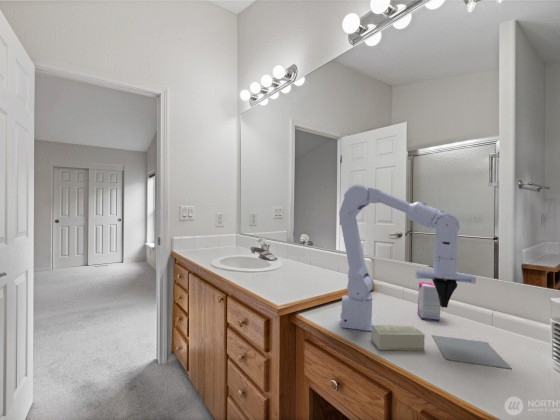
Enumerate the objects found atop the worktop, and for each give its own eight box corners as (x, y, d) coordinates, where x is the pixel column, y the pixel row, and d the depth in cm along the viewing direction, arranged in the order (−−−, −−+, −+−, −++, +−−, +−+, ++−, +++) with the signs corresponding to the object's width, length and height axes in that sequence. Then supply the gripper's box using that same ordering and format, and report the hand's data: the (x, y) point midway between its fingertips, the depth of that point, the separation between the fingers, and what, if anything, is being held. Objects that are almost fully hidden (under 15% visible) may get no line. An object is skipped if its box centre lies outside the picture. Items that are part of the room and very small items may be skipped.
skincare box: (413, 340, 82) (370, 340, 82) (413, 324, 82) (371, 324, 82) (425, 351, 76) (379, 351, 75) (425, 334, 76) (379, 334, 75)
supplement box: (440, 321, 97) (441, 287, 96) (421, 319, 98) (422, 285, 98) (435, 315, 102) (436, 282, 102) (417, 313, 103) (418, 281, 103)
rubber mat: (445, 359, 72) (445, 358, 72) (431, 335, 85) (431, 335, 85) (512, 369, 68) (512, 368, 68) (486, 342, 82) (486, 342, 82)
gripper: (419, 257, 78) (417, 307, 79) (481, 262, 75) (479, 314, 75) (414, 253, 85) (413, 299, 85) (471, 257, 81) (469, 305, 81)
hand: (443, 306), depth 81 cm, fingers closed
